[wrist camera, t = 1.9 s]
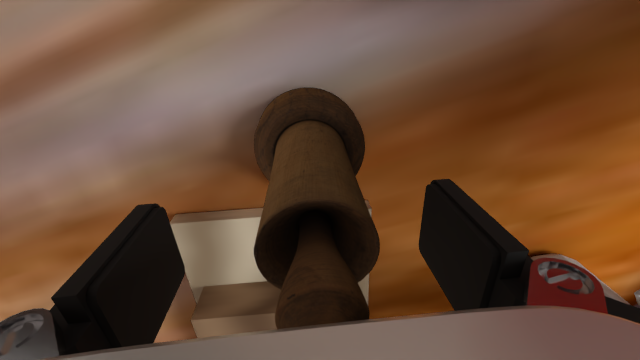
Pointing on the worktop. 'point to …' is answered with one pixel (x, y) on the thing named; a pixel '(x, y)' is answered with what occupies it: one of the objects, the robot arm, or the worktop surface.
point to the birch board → (223, 248)
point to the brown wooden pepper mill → (313, 209)
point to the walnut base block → (235, 309)
